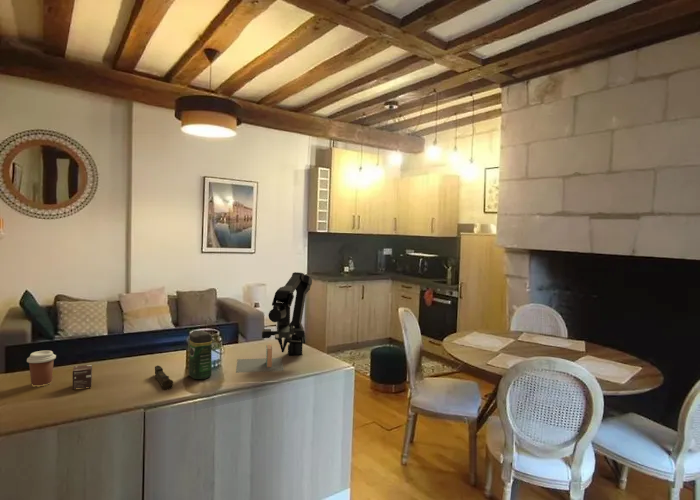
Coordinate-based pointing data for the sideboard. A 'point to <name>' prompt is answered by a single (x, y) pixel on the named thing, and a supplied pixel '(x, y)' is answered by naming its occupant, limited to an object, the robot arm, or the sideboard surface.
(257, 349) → the sideboard surface
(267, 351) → the tile
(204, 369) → the coffee jar
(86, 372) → the box
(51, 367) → the coffee cup
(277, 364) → the mat
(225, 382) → the sideboard surface
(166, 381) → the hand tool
